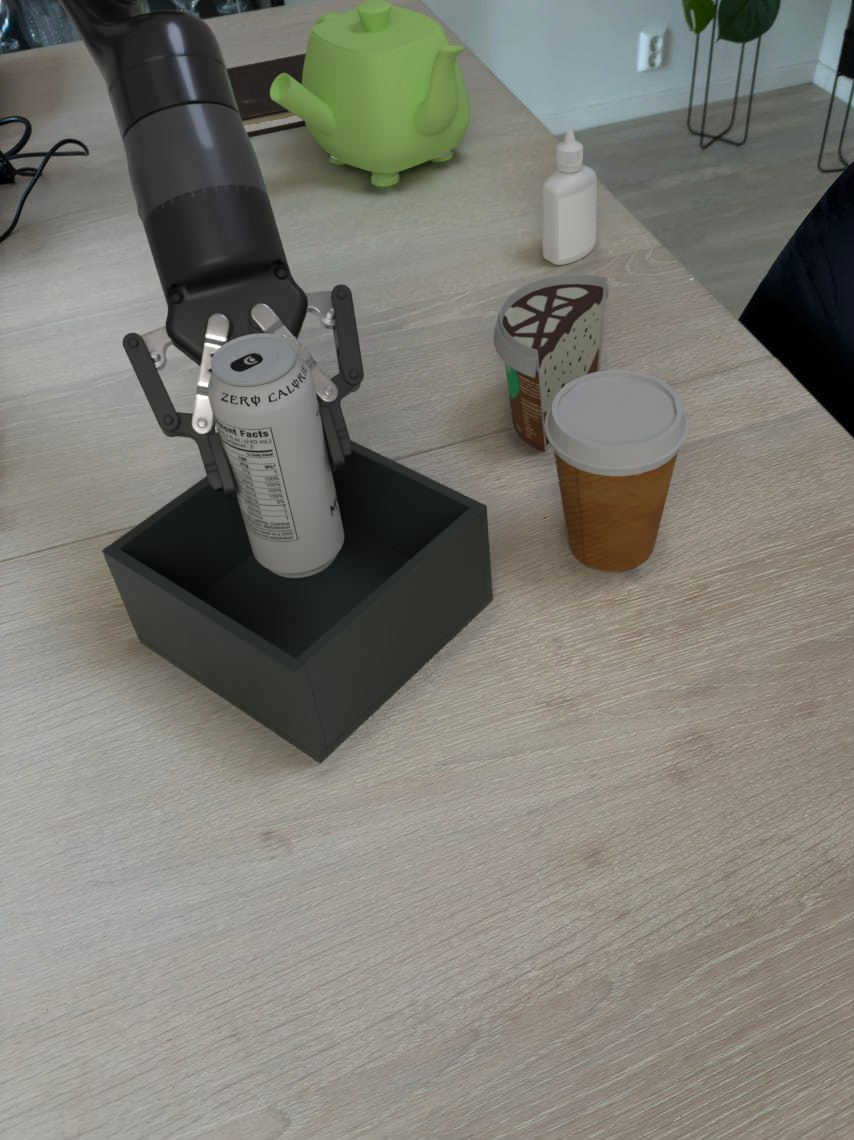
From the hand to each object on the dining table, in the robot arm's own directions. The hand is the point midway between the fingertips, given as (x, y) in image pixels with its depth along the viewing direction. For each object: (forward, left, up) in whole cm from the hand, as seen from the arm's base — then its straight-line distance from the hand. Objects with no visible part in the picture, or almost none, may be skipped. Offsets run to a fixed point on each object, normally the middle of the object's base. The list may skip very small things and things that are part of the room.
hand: (286, 481), depth 68 cm
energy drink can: (0, +2, -7) cm, 8 cm away
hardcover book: (+38, +82, -14) cm, 91 cm away
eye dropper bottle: (+45, +29, -14) cm, 56 cm away
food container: (+27, +11, -14) cm, 33 cm away
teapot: (+41, +57, -14) cm, 72 cm away
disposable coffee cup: (+21, -5, -14) cm, 26 cm away
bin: (0, +2, -14) cm, 14 cm away
